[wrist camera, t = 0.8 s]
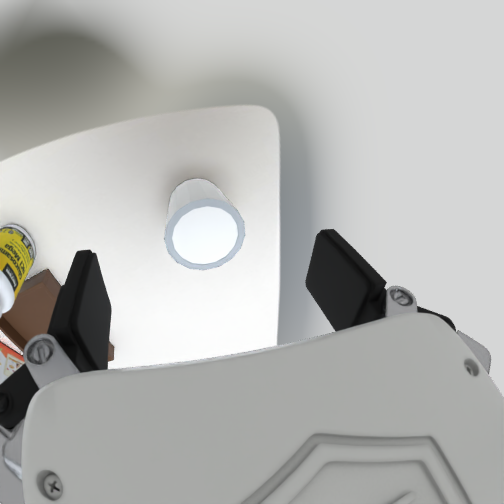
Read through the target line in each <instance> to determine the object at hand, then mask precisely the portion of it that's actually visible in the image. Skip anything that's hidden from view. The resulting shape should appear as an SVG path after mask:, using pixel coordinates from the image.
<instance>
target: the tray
mask: <svg viewBox="0 0 504 504" xmlns="http://www.w3.org/2000/svg"><path fill="white" fill-rule="evenodd" d="M60 288H61V286H60V284H59V283H58V282H57V280H56V279H55V278H54V276H53V275H52V274H51V272H50V271H49V270H48V269H47V270H45V271H43V272H41V273H39V274H37V275H35V276H33V277H32V278H30V279H28V280H26V281H24V282H23V284H22V286H21V288H20V290H19V293H18V295H17V297H16V299H15V301H14V304H13V306H12V307H11V309H10V310H9V311H7V312H5V313H2V316H1V318H0V330H1V331H2V332H3V333H4V334H5V335H6V336H7V337H8V338H9V339H10V340H11V341H12V342H13V343H14V344H15V345H16V346H17V347H18V348H19V349H20V350H21V351H22V352H23V351H24V348H25V346H26V344H27V343H28V341H29V340H30V339H32V338H33V337H35V336H37V335H40V334H47V331H48V327H49V323H50V320H51V316H52V313H53V309H54V306H55V303H56V300H57V297H58V293H59V290H60ZM112 360H114V346H113V345H112V344H111V343H110V342H109V348H108V362H109V361H112Z"/></svg>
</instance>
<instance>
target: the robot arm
mask: <svg viewBox="0 0 504 504" xmlns="http://www.w3.org/2000/svg"><path fill="white" fill-rule="evenodd" d="M386 283H387V282H386V281H385V280H384V279H383V278H382V277H381V276H380V275H379V274H378V273H377V272H376V271H375V270H374V268H372V266H370V264H368V262H367V261H366V260H365V259H364V258H363V257H362V256H361V255H360V254H359V253H358V252H357V251H356V250H355V249H354V248H353V247H352V246H351V245H350V244H349V243H348V242H347V241H346V240H345V239H343V238H342V237H341V236H340V235H339V234H338V233H337V232H336V231H335V230H334V229H326V230H321V231H320V233H318V234H317V236H316V240H315V244H314V248H313V253H312V257H311V261H310V265H309V269H308V273H307V277H306V287H307V289H308V290H309V292H310V293H311V295H312V296H313V298H314V299H315V301H316V302H317V304H318V305H319V307H320V308H321V310H322V311H323V313H324V314H325V316H326V317H327V319H328V320H329V322H330V324H331V325H332V326H333V328H334V329H335V331H336V332H332V333H329V334H325V335H321V336H317V337H313V338H309V339H304V340H300V341H296V342H292V343H287V344H283V345H278V346H273V347H268V348H264V349H259V350H253V351H248V352H243V353H237V354H231V355H225V356H219V357H213V358H207V359H200V360H193V361H185V362H177V363H169V364H159V365H150V366H141V367H130V368H118V369H108V348H109V333H110V322H111V304H110V300H109V297H108V294H107V291H106V288H105V284H104V281H103V277H102V274H101V270H100V266H99V263H98V259H97V255H96V253H92V251H91V250H81V251H77V252H76V255H75V257H74V260H73V262H72V265H71V268H70V271H69V273H68V276H67V279H66V282H65V285H63V286H61V288H60V290H59V293H58V297H57V300H56V303H55V306H54V309H53V313H52V316H51V320H50V323H49V327H48V331H47V334H40V335H37V336H35V337H33V338H32V339H30V340H29V341H28V343H27V344H26V346H25V348H24V351H23V358H24V362H25V363H24V364H23V365H22V366H21V367H20V368H18V369H17V370H16V371H15V372H14V373H13V374H11V375H10V376H9V377H8V378H7V379H6V380H5V381H4V382H2V383H1V384H0V503H1V504H504V397H503V396H502V394H501V393H500V391H499V389H498V388H497V386H496V385H495V383H494V382H493V380H492V379H491V377H490V376H489V370H490V364H491V355H490V353H489V351H488V350H487V349H486V348H485V347H484V346H482V345H481V344H480V343H478V342H476V341H475V340H473V339H472V338H470V337H469V336H467V335H465V334H464V333H462V332H461V331H459V330H458V331H457V332H456V329H455V326H454V324H453V323H452V321H451V320H450V319H449V318H448V317H446V316H443V315H440V314H438V313H435V312H432V311H429V310H427V309H424V308H421V307H418V306H417V302H416V298H415V297H414V295H413V294H412V293H411V292H410V291H409V290H407V289H405V288H403V287H400V286H391V287H389V288H388V289H387V290H386V289H385V288H384V287H385V285H386Z"/></svg>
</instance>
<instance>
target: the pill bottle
mask: <svg viewBox="0 0 504 504" xmlns="http://www.w3.org/2000/svg"><path fill="white" fill-rule="evenodd" d="M34 259H35V247H34V243H33V241H32V239H31V237H30V236H29V234H28V233H27V232H26V231H25V230H24V229H22V228H21V227H19V226H17V225H6V226H4V227H2V228H1V229H0V318H1V316H2V313H5V312H7V311H9V310H10V309H11V307H12V306H13V304H14V301H15V299H16V297H17V295H18V293H19V290H20V288H21V286H22V284H23V282H24V280H25V278H26V276H27V274H28V272H29V270H30V268H31V266H32V264H33V262H34Z"/></svg>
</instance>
